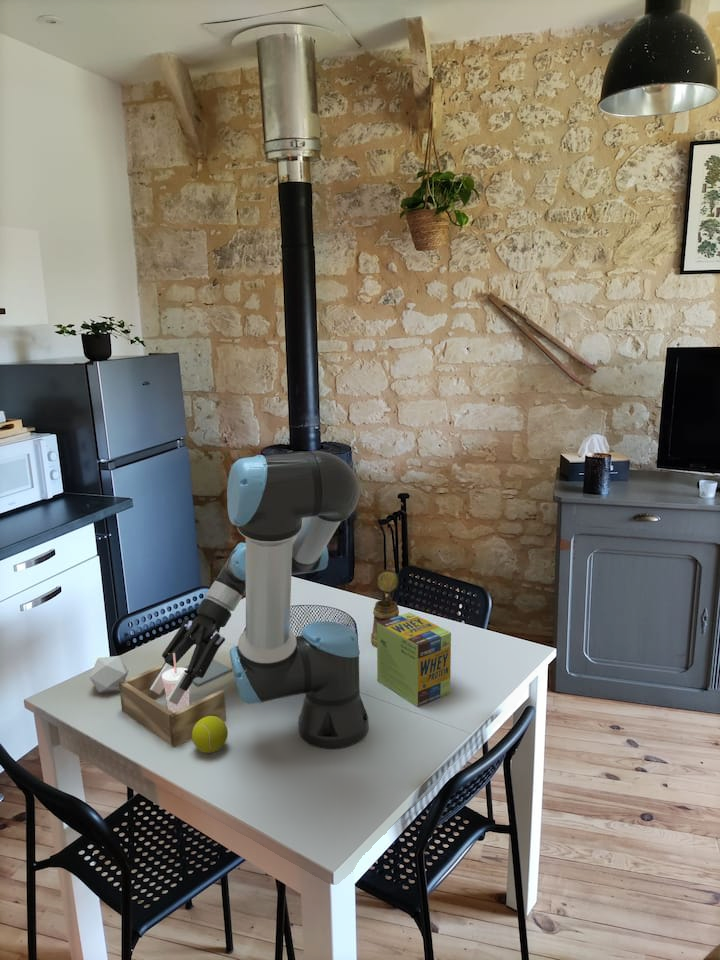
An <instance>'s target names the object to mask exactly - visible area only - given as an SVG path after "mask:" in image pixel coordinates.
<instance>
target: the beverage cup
mask: <svg viewBox="0 0 720 960" xmlns="http://www.w3.org/2000/svg"><path fill="white" fill-rule="evenodd" d="M173 660H174V668H172V669H169V670H167V671H165V672H164V673H163V674H162V680H163V682H164V687H165V693H166V694H165V697H166V699H165V700H166V705H167V709H169V710H170V711H172V712H173V713H174V712H176V711H178V710H180V709H182V708H185V707H187V706H189V705H190V687H189V688H188V690H187V691H185V692H184V694H183V696H182V697H181V699H180V701H179V702H178V704H177V705H176V704H174V703H172V702H170V701H168V700H167V698H168V696H169V695H170V693H171V691H172V690H173V688H174V686H175V685H176V683H177V681H178V680H179V678H180V677H181V675H182V673H183V672H184V670H187V669H186V668H183V667H176V666H177V663H176V658H175V653H173ZM184 673H185V672H184Z"/></svg>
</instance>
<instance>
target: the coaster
mask: <svg viewBox="0 0 720 960" xmlns="http://www.w3.org/2000/svg"><path fill="white" fill-rule="evenodd" d="M188 667H189V664H188V665H186V666H184V667H182V668H186V669H188ZM193 670H194V669H193ZM200 671H201V670H200ZM232 671H233V668H230V667H229V666H227V665H226V664H223V663H221V662H220V661H218V660H216V659H214V658H213V660H212V662H211V664H210V666H209V667H208V669H207V671H206V673H205V675H204V677H203V678H200V677H196V678H194V680H193V681H192V683H191V684H194V685H195V686H197V687H201V686H203V685H205V684H207V683H209V682H211V681H213V680H216V679H218V678H220V677H222V676H224V675H227V674H228V673H231V672H232Z"/></svg>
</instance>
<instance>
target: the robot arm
mask: <svg viewBox="0 0 720 960" xmlns="http://www.w3.org/2000/svg"><path fill="white" fill-rule="evenodd" d="M226 487H227V488H226V497H227V501H226V502H227V504H226V505H227V506H226V507H227V514H228V519H229V521H230V523H231V525H233V526H236V528H237V531H238V533H239V534H241V536H243V537H244V538H245V542H239V543H238V544H237V545H236V546H235V548H233V550H232V551H231V553H230V555H229V557H228V559H227V560H226V562H225V563H224V565H223V567H222V569H221V571H220V572H219V573H218V576H217V578H215V580H214V582H213V583H212V584H211V586H210V588H209V589H208V590H207V592H206V594H205V595H206V598H204V599H203V600H202V601H201V602H200V604H199V606H198V607H197V609H196V613H197V616H196V617H195V618H193V620H188V619H187V618H184V619H183V620H182V623H181V625H180V628H179V629H178V630H177V631H176V633H175V635H174V636H173V637H172V640H171V641H170V642H169V643H168V645H167V647H165V649H164V651H163V652H162V654H161V657H162V658H163V659H164V663H163V664H164V665H163V664H162V665H163V666H162V668H161V670H160V671H159V673H158V677H157V678H156V680H155V681H154V683H153V685H152V686H151V688H150V690H152V691H154V692H156V693H158V694H161V692H162V690H163V689H164V682H163V680H162V674H163V673H164V672H165V671H167V670H169V669H172V668H174V660H173V653H175V658H176V664H177V663H178V662H179V661H180V660H181V659H182V658H183V656H185V654H187V653H188V651H189V650H190V649H191V648H192V647H193V645H195V647H194V650H193V653H192V656H191V659H190V661H189V663H188V665H189V667H188V669H187V670H184V672H185V673H184V672H183V673H182V675H181V677H180V678H179V680H178V681H177V683H176V685H175V686H174V688H173V690H172V691H171V693H170V695H169V696H168V698H167V699H166V701H167V700H168V701H170V702H172V703H174V704H176V705H177V704H178V702H179V701H180V699H181V697H182V696H183V694H184V692H185V691H187V690H188V688H189V689H190V686H191V684H193V683H192V681H193V680H194V678H196V677H200V678H203V677H204V675H205V673H206V671H207V669H208V667H209V666H210V664H211V662H212V660H213V659H214V658H215V656H216V654H217V652H218V651H219V649H220V647H221V646H222V645H223V643H224V642H225V640H226V638H225V637H224V636H223V635H221V634H220V630H221V628H225V627H226V625H227V623H228V622H229V620H230V618H231V617H232V612H234V611H235V610H236V608H237V606H238V605H239V603H240V601H241V600H242V598H243V597H244V594H245V629H244V630H243V632H241V634H240V635H239V638H238V642H237V645H235V646H233V647H231V648H230V649H229V658H230V662H231V666H232V668H231V669H232V671H233V675H234V676H233V677H234V680H235V684H236V688H237V692H238V697H239V699H240V700H241V702H242V703H244V704H246V705H251V704H258V703H259V704H262V703H264V702H269V701H270V702H271V701H275V700H279V699H285V698H288V697H294V696H297V695H303V694H305V695H304V700H303V703H302V707H301V711H300V713H299V716H298V720H297V724H298V725H297V726H298V730H297V731H298V734H299V736H300V738H301V739H302V740H303V741H305V742H306V744H307V743H308V744H309V745H311V746H314V747H316V748H322V749H341V748H346V747H349V746H352V745H355V744H356V743H358V742H359V741H361V740H363V738H364V737H366V735H367V734H368V731H369V716H368V713H367V710H366V707H365V705H364V704H365V703H364V701H363V699H362V697H361V694H360V654H361V653H360V647H359V637H358V635H357V633H356V631H354V630H353V628H350V627H349V626H348V625H346V624H345V625H344V624H343V623H339V622H334V621H327V620H326V621H325V620H323V621H322V620H321V621H314V622H310V623H308V624H306V625H305V626H303V629H302V631H301V635H297V636H296V634H295V633H294V632H293V631H292V630H291V627H290V624H291V623H290V622H291V601H292V599H291V597H292V595H291V594H292V576H293V575H300V574H301V575H302V574H309V573H310V574H311V573H315V572H317V571H318V572H319V571H323V570H326V568H327V567H328V564H329V550H328V547H327V546H328V544H329V542H331V541H330V540H331V539H332V537H333V536H334V533H336V530H337V529H338V527H339V526H340V524H341V522H343V521H345V520H347V519H348V518H349V517H350V516H351V515H352V514H353V513H354V511H355V509H356V508H357V506H358V503H359V500H360V496H361V493H360V483H359V480H358V478H357V474H355V471H354V470H353V469H352V468H351V466H350V465H349V464H348V463H347V462H346V461H344V460H343V459H342V458H340V457H339V456H337V455H335V454H332V453H329V452H324V451H318V450H315V451H306V452H299V453H298V452H297V453H295V452H294V453H285V454H272V455H269V454H268V455H262V454H256V455H255V456H251V457H250V456H249V457H243V458H239V459H237V460H236V461H235V462H234V463H233V465H232V466H231V467H230V471H229V475H228V480H227V486H226ZM176 668H178V665H176ZM193 669H194V670H193ZM200 670H201V671H200Z"/></svg>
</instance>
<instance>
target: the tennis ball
mask: <svg viewBox="0 0 720 960" xmlns="http://www.w3.org/2000/svg"><path fill="white" fill-rule="evenodd" d="M228 734H229V733H228V726H227V725H226V723H225V721H224V722H223V721H222V720H221V719H220V718H218V717H216V716H207V717H204V718H202V719H200V720H199V721H198V722H197V723H196V724H195V726H194V728H193V731H192V742H193V745H194V747H195V748H197V750H198V751H200V752H202V753H206V754H207V753H208V754H212V753H216V752H217V751H219V750H220V749H221V748H222V747H223V746H224V745H225V743H226V741H227V739H228Z"/></svg>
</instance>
